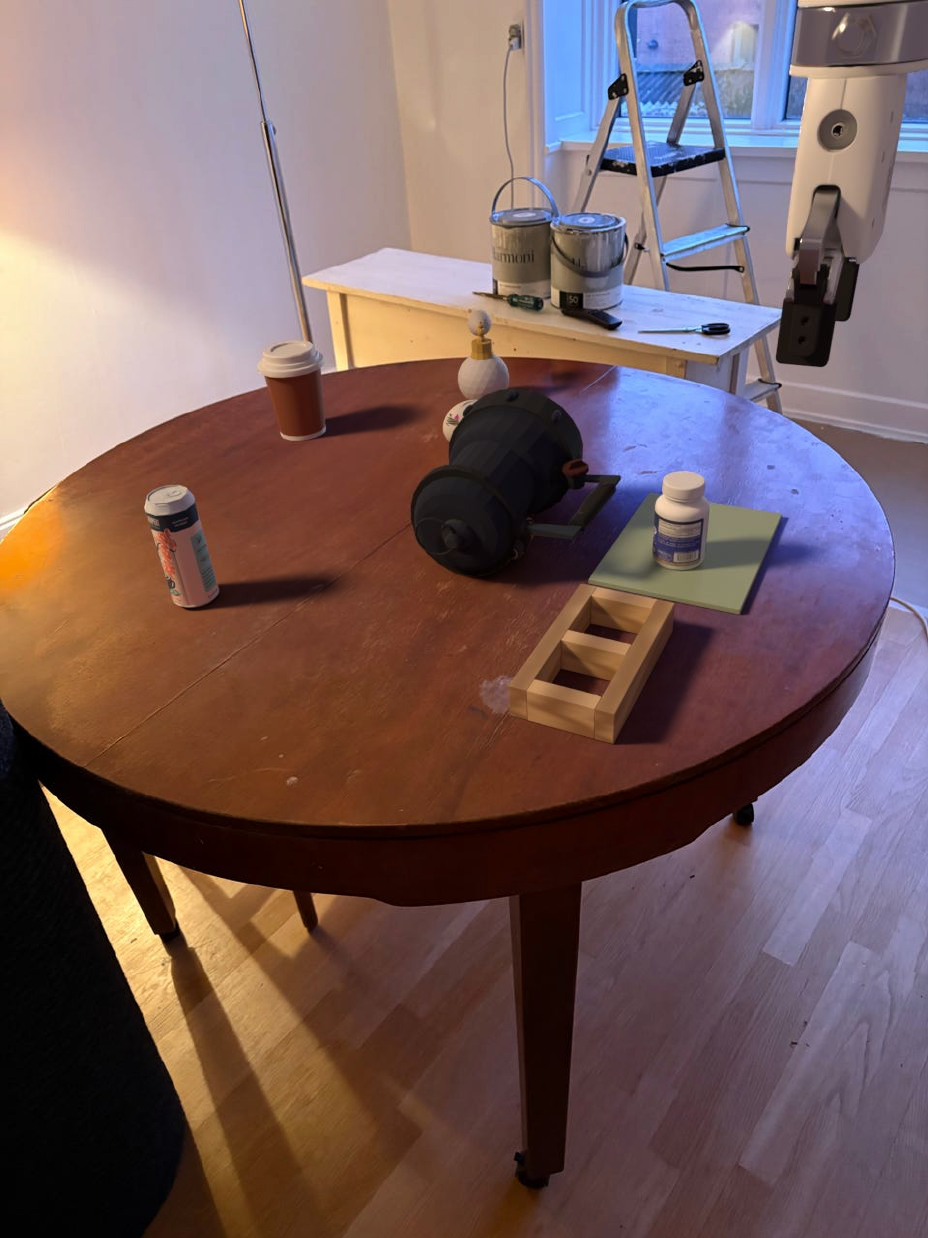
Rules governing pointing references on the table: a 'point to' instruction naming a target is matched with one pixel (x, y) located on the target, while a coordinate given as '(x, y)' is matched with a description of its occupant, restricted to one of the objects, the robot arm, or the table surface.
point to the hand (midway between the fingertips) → (814, 340)
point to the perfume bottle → (481, 362)
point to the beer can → (181, 545)
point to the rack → (592, 662)
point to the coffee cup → (295, 388)
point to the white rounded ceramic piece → (454, 418)
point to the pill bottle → (681, 522)
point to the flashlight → (504, 483)
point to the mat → (712, 584)
